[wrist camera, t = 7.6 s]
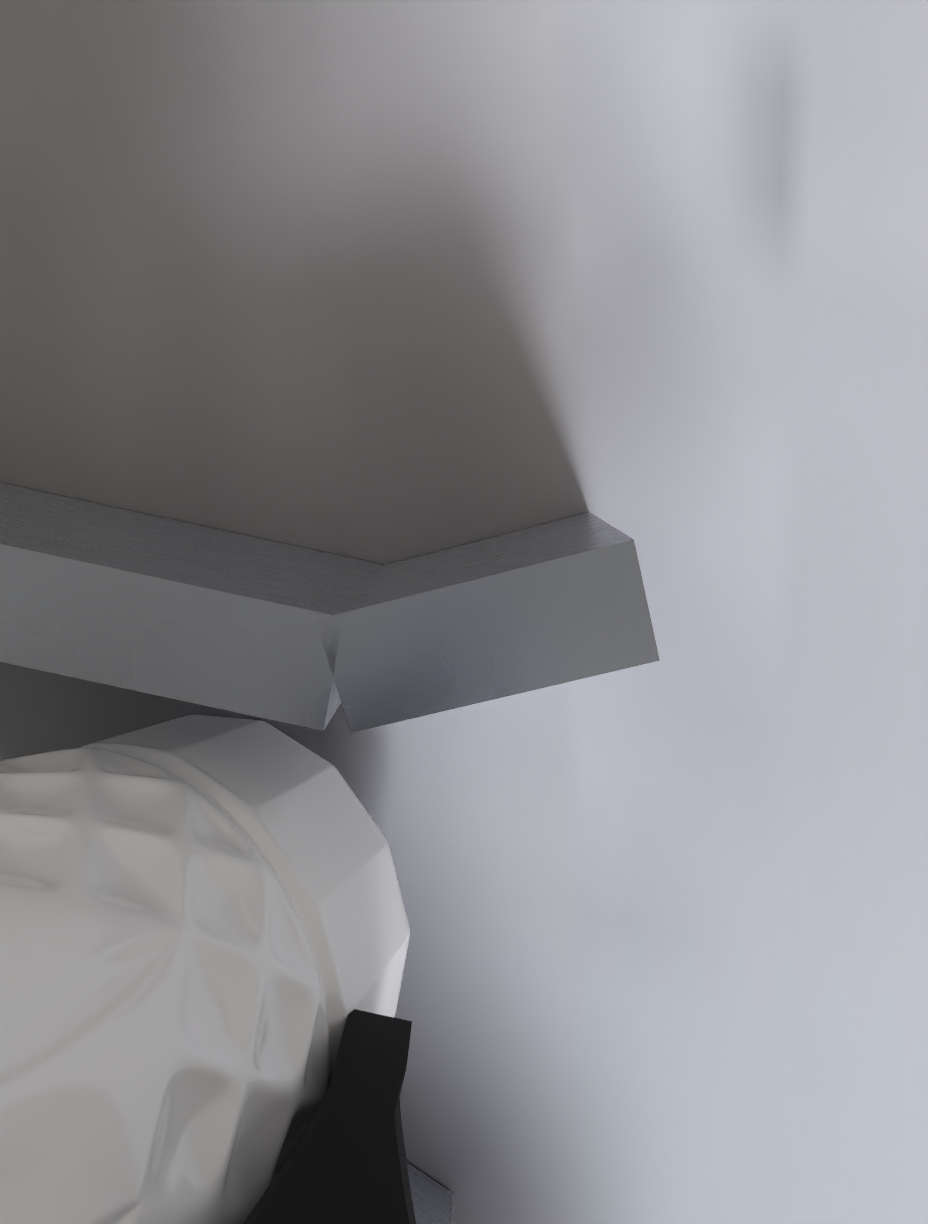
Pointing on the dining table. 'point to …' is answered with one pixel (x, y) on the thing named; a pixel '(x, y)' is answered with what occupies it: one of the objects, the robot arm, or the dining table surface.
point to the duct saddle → (313, 623)
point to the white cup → (179, 967)
